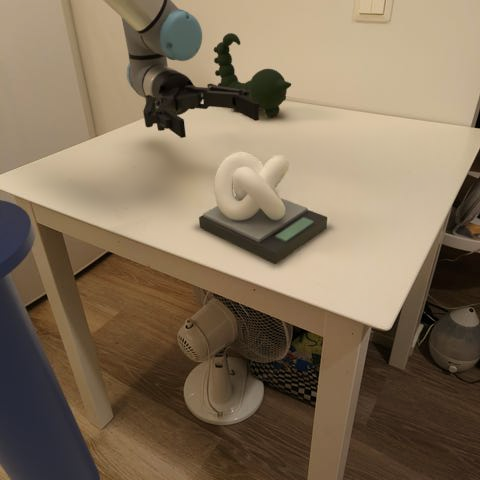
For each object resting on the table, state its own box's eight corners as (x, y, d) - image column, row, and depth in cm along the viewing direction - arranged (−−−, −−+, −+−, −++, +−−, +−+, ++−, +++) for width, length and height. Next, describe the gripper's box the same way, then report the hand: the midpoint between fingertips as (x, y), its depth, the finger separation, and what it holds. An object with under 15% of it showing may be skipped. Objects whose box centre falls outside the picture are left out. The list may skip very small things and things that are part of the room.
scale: (199, 227, 74) (198, 213, 72) (252, 198, 81) (252, 185, 80) (275, 264, 65) (275, 249, 64) (326, 227, 72) (327, 213, 71)
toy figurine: (212, 113, 124) (279, 125, 108) (202, 36, 114) (274, 36, 98) (237, 105, 129) (304, 115, 113) (229, 30, 119) (302, 29, 103)
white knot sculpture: (250, 187, 79) (249, 137, 73) (309, 207, 73) (312, 153, 67) (207, 214, 72) (202, 161, 67) (267, 238, 66) (267, 181, 60)
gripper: (227, 99, 94) (284, 127, 79) (110, 122, 85) (152, 160, 70) (225, 59, 89) (286, 82, 75) (102, 80, 80) (144, 111, 65)
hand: (221, 120), depth 72 cm, fingers open, 13 cm apart
